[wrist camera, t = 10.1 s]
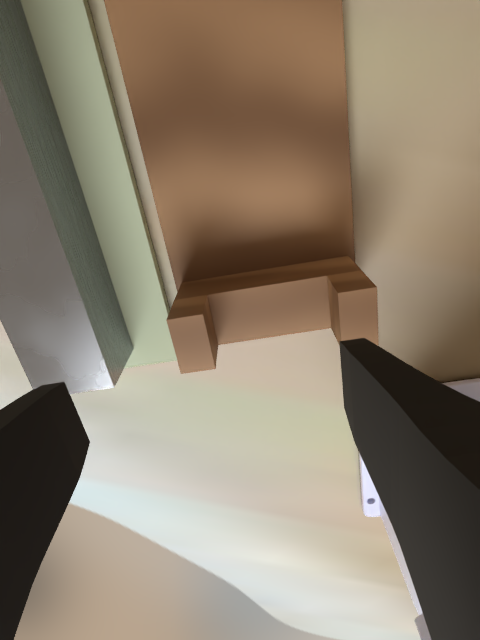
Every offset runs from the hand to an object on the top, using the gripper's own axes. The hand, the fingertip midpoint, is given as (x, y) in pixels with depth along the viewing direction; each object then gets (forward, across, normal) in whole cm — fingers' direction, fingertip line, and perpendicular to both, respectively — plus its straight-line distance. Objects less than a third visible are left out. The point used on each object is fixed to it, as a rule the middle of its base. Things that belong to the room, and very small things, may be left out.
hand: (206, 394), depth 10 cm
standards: (+10, -2, -6) cm, 12 cm away
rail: (+9, +7, -6) cm, 13 cm away
